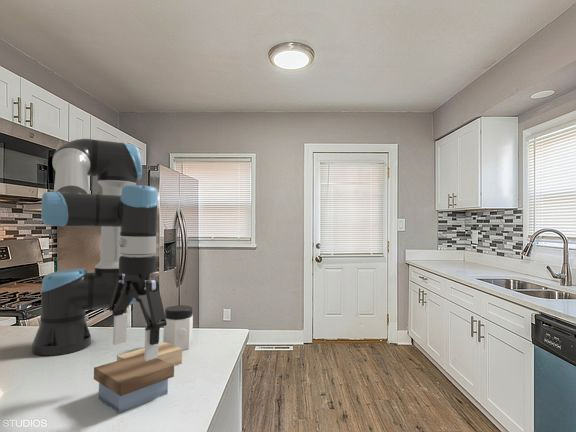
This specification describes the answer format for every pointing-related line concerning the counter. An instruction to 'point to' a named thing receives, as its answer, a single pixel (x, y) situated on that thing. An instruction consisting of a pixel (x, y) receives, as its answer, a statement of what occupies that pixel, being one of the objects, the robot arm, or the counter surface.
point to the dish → (132, 396)
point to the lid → (132, 374)
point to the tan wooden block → (160, 353)
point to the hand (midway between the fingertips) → (134, 350)
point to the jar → (178, 326)
